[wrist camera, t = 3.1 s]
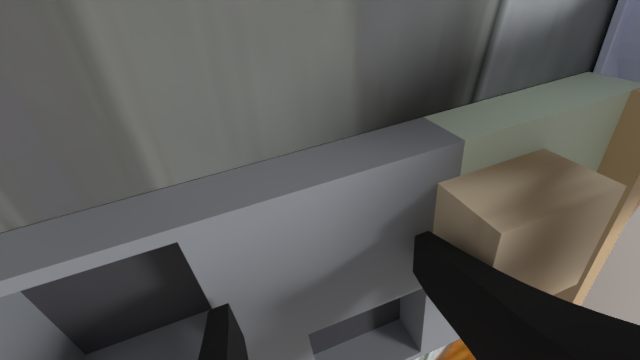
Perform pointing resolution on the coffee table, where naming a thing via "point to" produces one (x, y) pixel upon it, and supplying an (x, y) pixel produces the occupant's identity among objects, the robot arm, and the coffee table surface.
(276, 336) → the board
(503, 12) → the coffee table surface
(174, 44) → the coffee table surface
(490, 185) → the maple block
